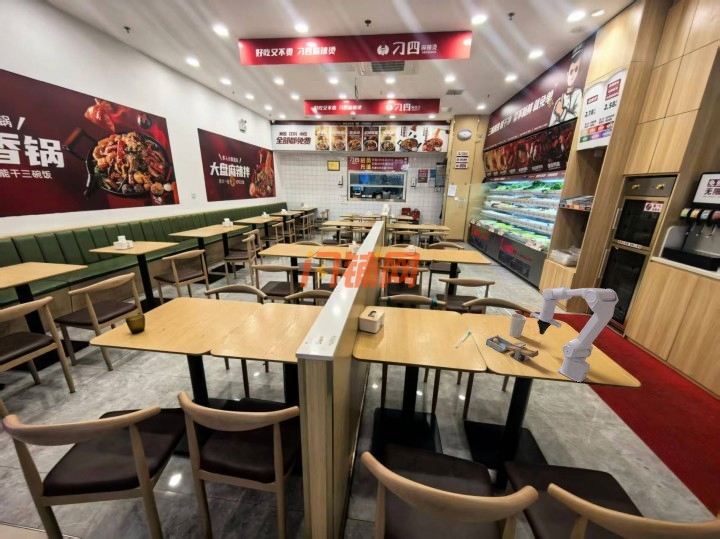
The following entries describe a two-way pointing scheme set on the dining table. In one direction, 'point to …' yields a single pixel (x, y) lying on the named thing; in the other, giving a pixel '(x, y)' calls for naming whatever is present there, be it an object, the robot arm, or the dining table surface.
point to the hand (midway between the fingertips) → (541, 333)
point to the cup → (516, 325)
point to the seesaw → (522, 349)
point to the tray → (500, 345)
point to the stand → (519, 356)
